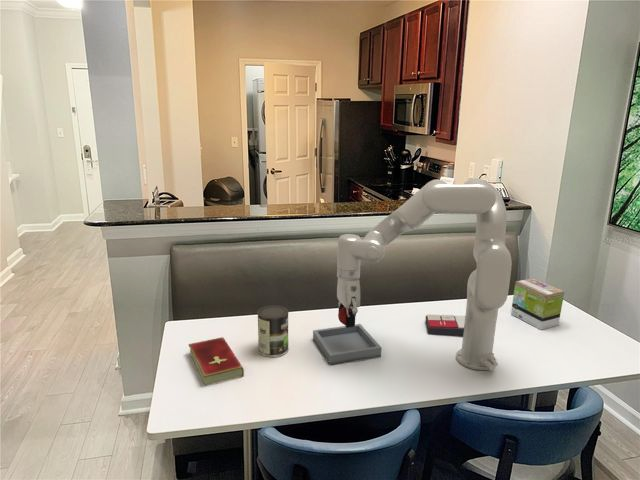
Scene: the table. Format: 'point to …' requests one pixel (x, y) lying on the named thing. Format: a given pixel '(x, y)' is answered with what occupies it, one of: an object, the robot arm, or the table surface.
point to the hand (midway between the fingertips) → (346, 321)
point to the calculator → (445, 325)
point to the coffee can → (273, 331)
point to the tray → (346, 344)
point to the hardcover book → (215, 361)
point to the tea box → (537, 303)
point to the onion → (343, 315)
